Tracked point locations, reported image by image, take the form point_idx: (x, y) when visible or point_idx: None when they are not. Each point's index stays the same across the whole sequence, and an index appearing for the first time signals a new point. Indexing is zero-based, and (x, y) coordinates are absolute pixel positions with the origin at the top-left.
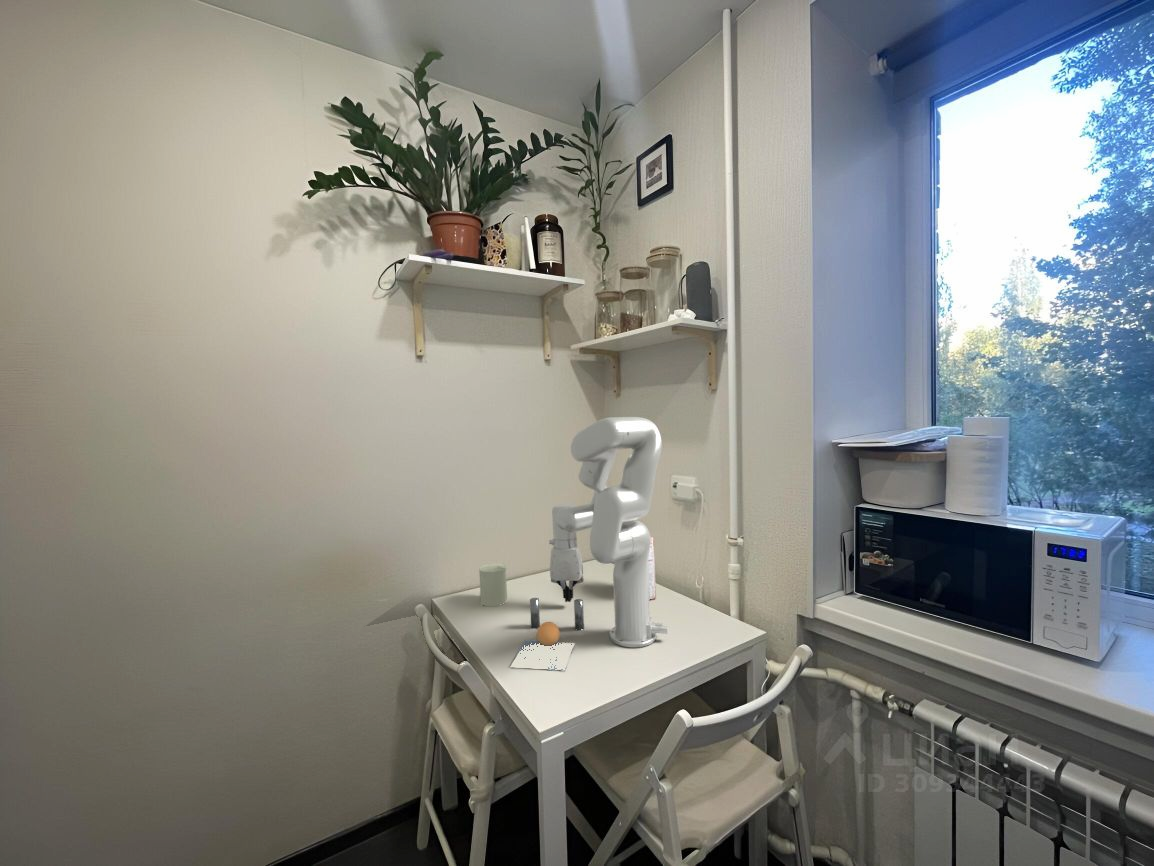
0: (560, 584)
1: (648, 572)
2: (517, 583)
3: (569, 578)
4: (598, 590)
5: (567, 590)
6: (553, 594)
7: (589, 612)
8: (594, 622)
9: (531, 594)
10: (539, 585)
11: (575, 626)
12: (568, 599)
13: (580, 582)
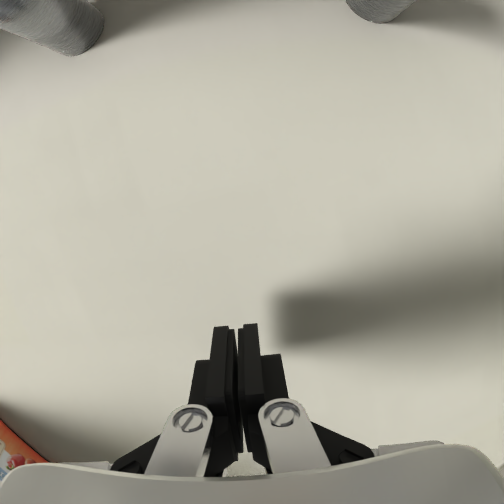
0: (324, 443)
1: None
2: (493, 457)
3: (143, 500)
4: None
5: (229, 393)
6: (371, 448)
7: (83, 274)
8: (19, 138)
9: (465, 414)
10: None
11: (90, 3)
12: (225, 335)
13: (80, 464)
